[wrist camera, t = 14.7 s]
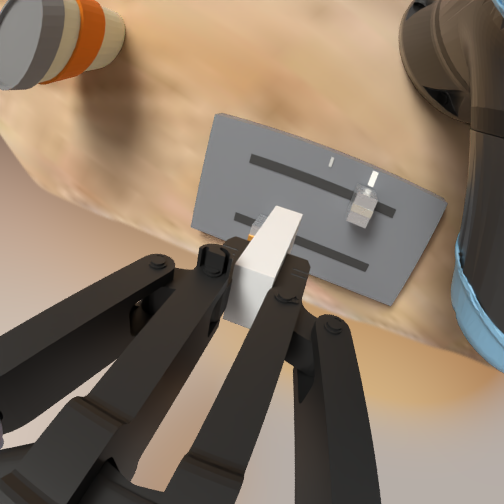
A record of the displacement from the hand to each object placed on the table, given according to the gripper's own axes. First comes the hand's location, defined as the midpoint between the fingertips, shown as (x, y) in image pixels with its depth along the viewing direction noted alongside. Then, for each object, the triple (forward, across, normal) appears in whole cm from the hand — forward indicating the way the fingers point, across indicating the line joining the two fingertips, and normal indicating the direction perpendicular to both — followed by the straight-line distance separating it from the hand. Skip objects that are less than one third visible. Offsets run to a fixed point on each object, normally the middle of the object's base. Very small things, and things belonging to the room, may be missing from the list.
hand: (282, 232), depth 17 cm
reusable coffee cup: (+18, -32, +11) cm, 38 cm away
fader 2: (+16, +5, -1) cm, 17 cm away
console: (+18, +1, -5) cm, 19 cm away
